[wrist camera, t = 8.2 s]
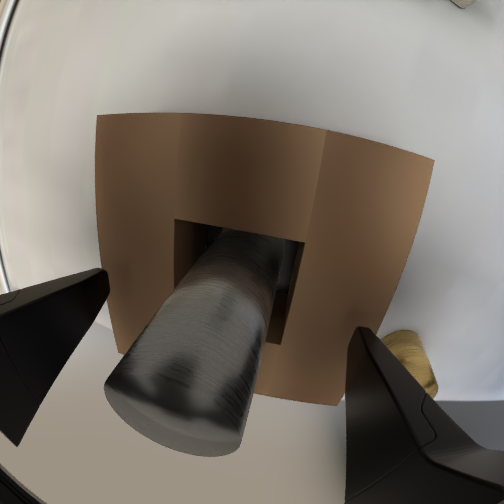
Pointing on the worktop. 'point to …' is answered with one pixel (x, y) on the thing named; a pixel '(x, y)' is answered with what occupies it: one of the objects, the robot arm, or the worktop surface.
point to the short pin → (412, 358)
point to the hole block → (259, 228)
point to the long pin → (202, 349)
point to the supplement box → (463, 2)
